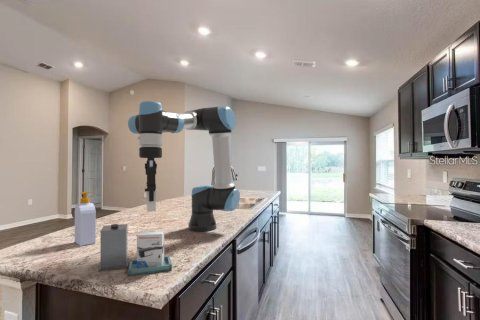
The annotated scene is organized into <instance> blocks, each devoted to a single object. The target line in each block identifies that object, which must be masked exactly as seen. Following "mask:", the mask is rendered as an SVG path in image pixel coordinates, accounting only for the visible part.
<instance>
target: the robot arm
mask: <svg viewBox="0 0 480 320" xmlns="http://www.w3.org/2000/svg"><path fill="white" fill-rule="evenodd" d="M127 126H128V129H129V131H130V133H132V134H135V135H137V134H138V135H139V136H137V140H139V142H138V143H139V146H140V147H139V149H138V153H139V154H138V156H139V158H140V159H146V163H144V170H145V175H146V188H144V192H146V212H147V213H149V212H157V211H156V210H157V209H156V207H157V203H156V201H157V200H156V199H157V197H156V195H157V194H156V193H157V191H156V189H157V183H156V175H157V169H158V163H157V162H156V160H155V159H161V158H162V157H163V148H162V146H163V133H164V134H165V133H171V134H178V133H180V132H182V131H183V130H186V131H208V135H209V136H210V137H211V138H212V140H211V141H212V150H213V151H212V153H213V165H214V168H213V169H214V180H215V181H214V182H215V183H214V184H213V185H212V184H211V185H208V184H207V185H201V186H195V187H193V188H192V189H191V214H190V215H191V216H190V219H189V222H188V230H189V231H192V232H210V231H213V230H216V229H217V222H216V218H215V215H214V211H222V212H234V211H235V210H236V209H237V208H238V206H239V203H240V198H241V196H240V195H241V194H240V190H239V189H237V188H236V184H235V183H234V182H233V180H232V179H233V178H232V165H231V164H232V163H231V150H230V149H231V148H230V147H231V146H230V135H231V134H232V131H233V129H235V127H236V117H235V113H234V111H233V110H232V108H231V107H229V106H222V105H219V106H212V107H210V106H209V107H202V108H197V109H193V110H186V111H184V112H171V111H165V110H164V109H163V105H162V104H161V102H159V101H154V100H145V101H142V102H140V103H139V108H138V114H134V115H132V116H130V117H129V118H128V120H127Z"/></svg>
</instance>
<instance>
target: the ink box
mask: <svg viewBox="0 0 480 320" xmlns="http://www.w3.org/2000/svg"><path fill="white" fill-rule="evenodd" d="M164 256H165V230H164V229H163V230H162V229H160V230H159V229H158V230H154V229H152V230H140V231H139V232H138V233H137V234H136V259H137V268H144V267H153V266H161V265H163V264H164Z"/></svg>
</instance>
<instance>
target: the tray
mask: <svg viewBox="0 0 480 320" xmlns="http://www.w3.org/2000/svg"><path fill="white" fill-rule="evenodd" d="M172 270H173V265H172V259H171V256H170V255H164V264H163V265H161V266H153V267H144V268H137V258H136V259H129V263H128V277H131V276H139V275H146V274H147V275H148V274H154V273H162V272H170V271H172Z"/></svg>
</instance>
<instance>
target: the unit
mask: <svg viewBox="0 0 480 320" xmlns="http://www.w3.org/2000/svg"><path fill="white" fill-rule="evenodd" d="M129 263H130V257H128V223H123V224H118V223H112V224H109V225H103V226H102V228H101V230H100V264H99V268H98V272H104V271H112V270H119V269H121V268H122V269H129Z"/></svg>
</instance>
